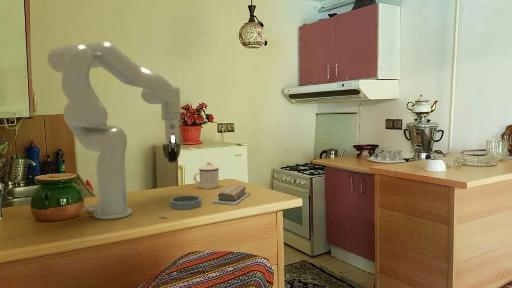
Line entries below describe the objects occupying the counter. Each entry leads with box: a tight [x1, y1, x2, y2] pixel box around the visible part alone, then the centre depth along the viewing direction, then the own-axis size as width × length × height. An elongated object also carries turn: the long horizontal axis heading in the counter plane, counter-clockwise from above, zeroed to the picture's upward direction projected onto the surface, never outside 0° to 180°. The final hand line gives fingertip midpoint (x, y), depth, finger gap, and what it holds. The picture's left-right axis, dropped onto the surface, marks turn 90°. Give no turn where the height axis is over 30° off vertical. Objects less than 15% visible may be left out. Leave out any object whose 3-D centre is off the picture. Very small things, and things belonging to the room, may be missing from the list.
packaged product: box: [211, 184, 251, 206], centre depth 161 cm, size 18×5×10 cm
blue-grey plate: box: [169, 194, 203, 211], centre depth 152 cm, size 12×12×2 cm
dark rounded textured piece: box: [162, 143, 181, 164], centre depth 163 cm, size 8×7×8 cm
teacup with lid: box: [193, 161, 220, 190], centre depth 183 cm, size 12×9×12 cm
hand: (171, 159), depth 163 cm, fingers closed on dark rounded textured piece, 6 cm apart
